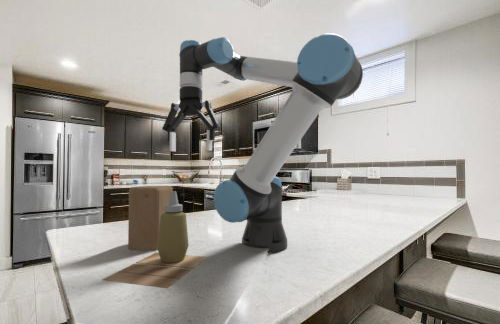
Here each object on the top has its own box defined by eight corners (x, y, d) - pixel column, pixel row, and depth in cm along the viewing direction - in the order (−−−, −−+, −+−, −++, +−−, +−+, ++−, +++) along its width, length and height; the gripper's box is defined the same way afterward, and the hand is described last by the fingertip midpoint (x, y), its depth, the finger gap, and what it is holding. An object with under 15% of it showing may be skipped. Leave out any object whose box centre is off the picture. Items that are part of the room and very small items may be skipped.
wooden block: (156, 255, 76) (157, 187, 76) (126, 253, 78) (127, 187, 78) (173, 246, 85) (173, 185, 86) (146, 244, 87) (147, 185, 88)
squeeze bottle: (161, 255, 72) (162, 190, 72) (190, 254, 72) (191, 190, 73) (152, 265, 64) (153, 192, 64) (186, 264, 64) (186, 192, 65)
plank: (207, 262, 70) (207, 256, 70) (192, 275, 61) (192, 268, 62) (156, 257, 74) (156, 252, 74) (134, 269, 65) (134, 262, 66)
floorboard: (191, 275, 61) (191, 269, 61) (167, 295, 51) (167, 287, 51) (133, 269, 65) (133, 263, 65) (101, 286, 55) (101, 279, 55)
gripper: (229, 89, 88) (229, 150, 88) (164, 94, 94) (164, 152, 94) (221, 81, 81) (221, 148, 80) (152, 88, 87) (151, 150, 86)
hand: (190, 150), depth 87 cm, fingers open, 13 cm apart
